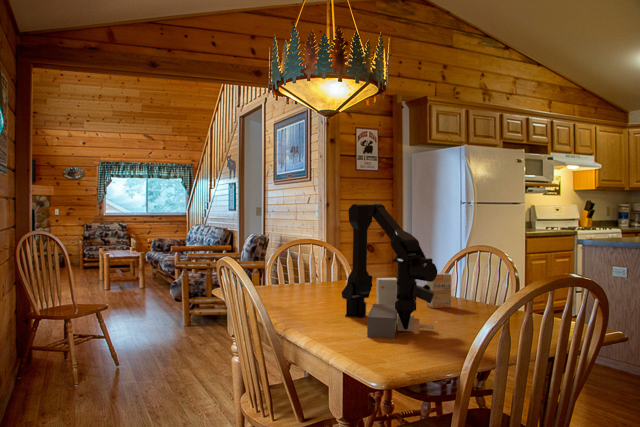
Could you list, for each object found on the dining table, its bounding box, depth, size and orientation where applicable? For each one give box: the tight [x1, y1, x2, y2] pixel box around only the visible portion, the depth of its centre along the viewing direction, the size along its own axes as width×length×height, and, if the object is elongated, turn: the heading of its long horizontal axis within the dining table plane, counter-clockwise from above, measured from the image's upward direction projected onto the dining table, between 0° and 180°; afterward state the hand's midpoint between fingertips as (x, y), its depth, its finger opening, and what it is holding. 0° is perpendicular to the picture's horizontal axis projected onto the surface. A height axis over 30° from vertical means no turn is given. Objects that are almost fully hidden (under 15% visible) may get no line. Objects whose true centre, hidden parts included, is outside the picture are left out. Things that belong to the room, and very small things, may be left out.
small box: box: [376, 277, 397, 305], centre depth 190 cm, size 8×6×10 cm
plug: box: [397, 315, 435, 332], centre depth 149 cm, size 11×4×4 cm, turn 79°
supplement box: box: [426, 272, 452, 309], centre depth 187 cm, size 8×5×13 cm, turn 105°
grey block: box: [366, 303, 398, 339], centre depth 151 cm, size 8×20×6 cm, turn 169°
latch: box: [413, 317, 420, 335], centre depth 140 cm, size 2×8×3 cm, turn 168°
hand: (406, 327), depth 150 cm, fingers closed on plug, 4 cm apart
